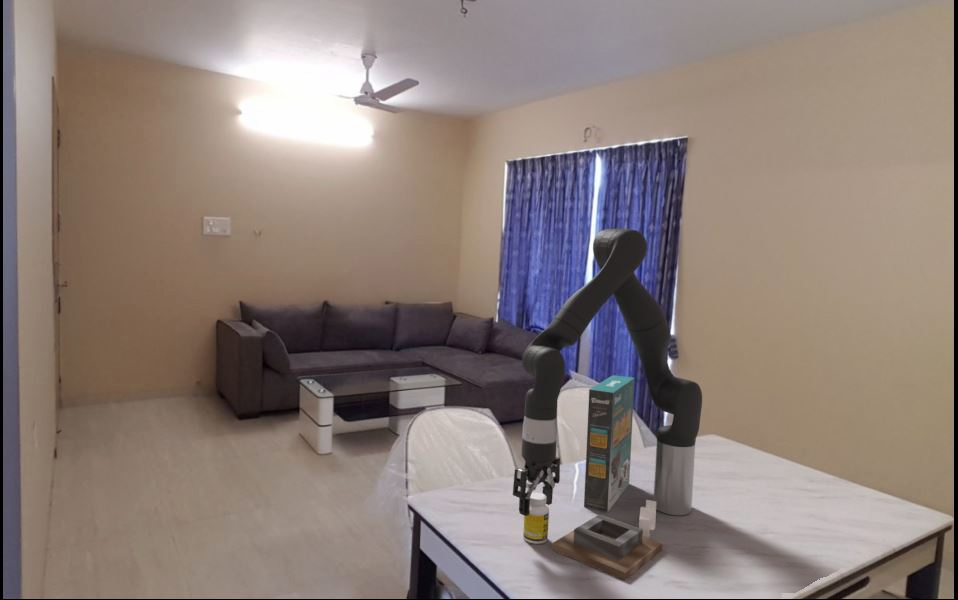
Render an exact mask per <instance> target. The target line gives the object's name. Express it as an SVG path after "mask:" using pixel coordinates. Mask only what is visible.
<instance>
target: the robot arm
mask: <svg viewBox="0 0 958 600" xmlns="http://www.w3.org/2000/svg"><path fill="white" fill-rule="evenodd" d="M592 251H593V255H594V259H595V263H596V264H597V265H598V268H599V271H598V272H597V274H596V275H595V276H594V277H592V279H591V280H590V281H588V282H587V283H586V284H585V285H583V286H582V287H581V288H580V289H578V290H577V291H576V292H574V293H573V294H572V295H571V296H570V297H569V298H568V299H567V300H566V301H565V302H564V303H563V305H562V306H561V307H560V309H559V310H558V312H557V314H555V316H554V318H553V319H552V321H551V322H550V324H548V326H547V327H546V328H545V329H544V330H542V331H541V332H540V333H539V334H538V335H537V336H536V337H535V338H534V339H533V340H532V341H531V342H530V343H529V344H528V345H527V346H526V348H525V350H524V352H523V354H522V358H521V363H522V364H521V365H522V367H523V370H524V371H525V372H526V373H527V374H529V375H530V376H532V377H535V380H534V386H533V388H530V389H528V391H527V392H526V393H525V400H524V401H525V402H524V417H523V423H522V438H521V457H522V458H523V460H524V466H523V468H519V467H515V469H514V475H513V476H514V477H513V487H512V496H514V497H516V498H518V499H519V500H518V501H519V503H518V507H519V508H518V512H519V514H520V515H522V516H523V517H524V516H528V515H529V511H530V499H529V498H530V496H531V494H532V493H533V492H534V491H535V490H536V489H537V487H538V485H539V484H541V483H542V484H543V486H542V494H544V495H546V497H547V498H546V505H547V506H550V505H552V504H553V491H554V488H555V487H556V484H559V483H560V481H561V480H560V479H561V476H560V475H561V474H560V472H561V458H560V457H558V456H557V442H558V441H557V440H558V418H557V415H558V414H557V413H558V398H559V395H560V393H561V390H562V386H563V384H564V383H563V382H564V379H565V375H566V361H565V358H564V355H563V354H562V353H561V351H562V350H563V349H564V348H567V347H572V346H574V345H575V344H576V343H577V342H578V341H579V340H580V338H581V337H582V336H583V334H584V332H585V331H586V329H587V328H588V326H589V325H590V323H591V322H592V320H593V319H594V318H595V316H596V315H597V314H598V312H599V310H600V309H601V308H602V307H603V306H604V305H605V303H607V301H608V300H609V299H610V298H611V297H612V296H614V299H615V301H616V303H617V307H618V308H619V310H620V311H619V312H620V313H621V316H622V319H623V321H624V324H625V327H626V329H627V331H628V335H629V336H630V339H631V341H632V343H633V345H634V348H635V351H636V352H637V355H638V357H639V360H640V363H641V365H642V369H643V371H644V375H645V378H646V382H647V386H648V390H649V392H650V393H649V394H650V397H651V399H652V401H653V404H654V405H655V407H656V408H657V409H659V410H660V411H662V412H664V413H668V414H671V415H673V418H672V423H671V424H669V425H663V426H659V428H658V429H657V432H656V445H655V446H656V448H655V470H654V485H653V500H652V501H656V511H659V512H660V513H662V514H666V515H672V516H687V515H690V514H691V512H692V508H693V507H692V506H693V505H692V504H693V490H694V488H693V487H694V471H695V457H696V456H695V454H696V440H697V439H696V438H697V436H698V434H699V431H700V425H701V424H700V423H701V416H702V409H703V392H702V389H701V387H700V385H699V384H698V383H697V382H695V381H692V380H689V379H686V378H681V377H676V376H675V375H674V374H673V372H672V370H671V369H670V366H669V364H668V360H667V353H668V350H669V346H670V342H671V330H670V326H669V324H668V320H667V318H666V315H665V312H664V311H663V309H662V307H661V305H660V304H659V302H658V301H657V299H656V298H655V297H654V296H653V295H652V293H650V292H649V291H648V289H647V288H646V287H645V286H644V285H643V284H642V283H641V281H640V280H639V279H638V277H637V275H636V273H635V272H636V270H637V269H638V268H639V267H640V265H642V263H643V262H644V260H645V257H646V256H647V251H648V243H647V239H646V238H645V236H644V234H643V233H642V232H640V231H638V230H636V229H632V228H607V229H602V230H601V231H599V232H597V234H596V235H595V237H594V239H593V243H592ZM553 473H554V475H553ZM519 487H520V488H519ZM526 489H527V490H526Z"/></svg>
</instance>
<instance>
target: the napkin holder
mask: <svg viewBox="0 0 958 600" xmlns="http://www.w3.org/2000/svg"><path fill="white" fill-rule="evenodd" d="M645 501H646V502H645V506H640V508H639V509H640V510H639V519H638V520H639V521H638V528H640V529H643V536H644V537H647V538H650V537H651V536H650V534H651V533H650V532H651V531H654V530H656V517H657V509H656V501H653V500H650V499H645Z"/></svg>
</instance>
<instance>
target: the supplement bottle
mask: <svg viewBox="0 0 958 600" xmlns="http://www.w3.org/2000/svg"><path fill="white" fill-rule="evenodd" d="M546 498H547V497H546V495H544V494H543V492H532V494H531V496H530V498H529V499H530V511H529V515H528V516H524V515H523V517H524V518H523V532H522V533H523V534H522V535H523V540H524V541H526V542H527V543H530V544H536V545H539V544H545V543H546V542H547V541H548V536H549V522H550V521H549V519H550V517H549V515H550V509H549V505H547V504H546Z"/></svg>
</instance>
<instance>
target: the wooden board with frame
mask: <svg viewBox="0 0 958 600" xmlns="http://www.w3.org/2000/svg"><path fill="white" fill-rule="evenodd" d="M551 545H552V547H551V548H552V551H554V552H557V553H559V554H561V555H564V556H566V557H568V558H571V559H573V560H576V561H578V562H581V563H583V564H586V565H587V566H590V567H593V568H595V569H596V570H599V571H602V572H604V573H607V574H609V575H612V576H614V577H616V578H618V579H621V580H623V581H626V580H627V579H628V578H630V577H631V576H632V575H634V573H636V572H637V571H638V570H640V568H642V567H643V566H645V564H646V563H648V562H649V561H651V560H652V559H653V558H654V557H655V556H657V555H658V554H659V553H660V552H661V551H663V546H664V545H663V542H661V541H658V540H655V539H653V538H650V537H649V538H647V537H644V536H643V529H640V528H639V527H636V526H634V525H631V524H628V523H625V522H623V521H619V520H617V519H613V518H611V517H608V516H606V515H602V514H597V515H595V516H594V517H592V518H591V519H588V520H587V521H586V522H583V524H581V525H579V526H577V527H576V528H574V529H573V530H572V531H570V532H568V533H567V534H565V535H563V536H562V537H560V538H559V539H556V540H555V541H554V542H552V543H551Z"/></svg>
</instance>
